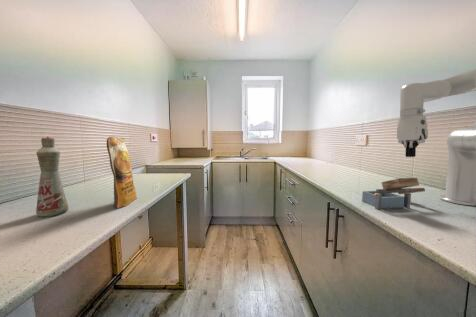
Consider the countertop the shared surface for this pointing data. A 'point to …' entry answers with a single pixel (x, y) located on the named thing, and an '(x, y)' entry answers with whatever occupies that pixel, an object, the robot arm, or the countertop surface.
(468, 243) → the countertop surface
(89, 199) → the countertop surface
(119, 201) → the pancake mix bag
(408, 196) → the stand
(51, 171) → the bottle
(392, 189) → the lever
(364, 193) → the blue-grey open box
